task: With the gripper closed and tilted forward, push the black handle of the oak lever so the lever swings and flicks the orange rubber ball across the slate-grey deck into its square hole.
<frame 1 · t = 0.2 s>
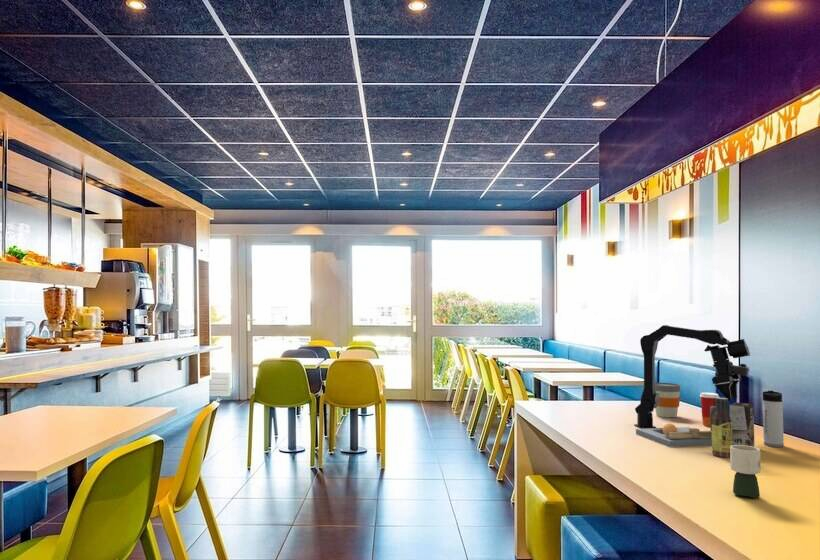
hand: (732, 399, 218), 15 cm above the table, tool pointing down, fingers open, 9 cm apart
reusable coffee cup: (666, 416, 264), on the table
ball: (669, 430, 212), point 4 cm above the table, touching deck
paper cup: (710, 426, 242), on the table
sauce bottle: (722, 456, 193), on the table
deck: (679, 438, 217), on the table
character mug: (746, 496, 151), on the table
coffee box: (742, 448, 203), on the table
lever: (693, 422, 210), point 8 cm above the table, hinge at 0.0°
travel mug: (773, 445, 208), on the table
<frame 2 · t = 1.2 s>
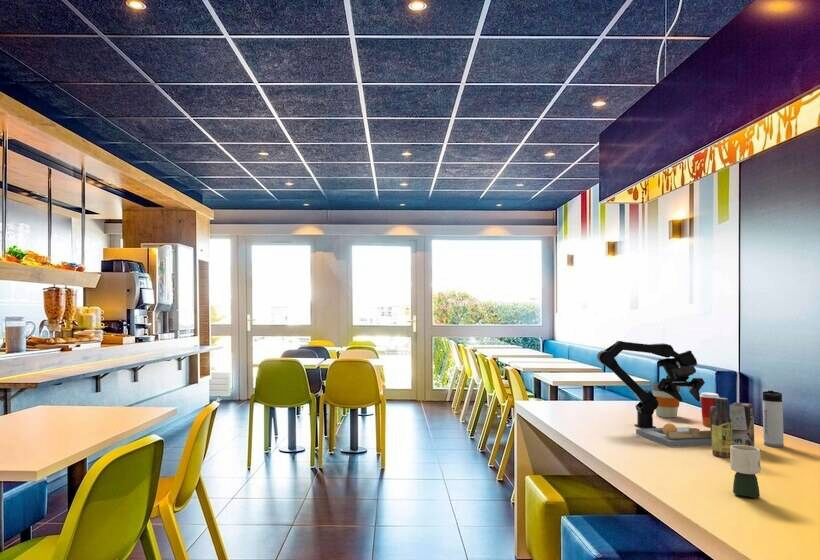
hand: (690, 401, 225), 13 cm above the table, tool tilted 45°, fingers open, 8 cm apart
nothing on the table moved.
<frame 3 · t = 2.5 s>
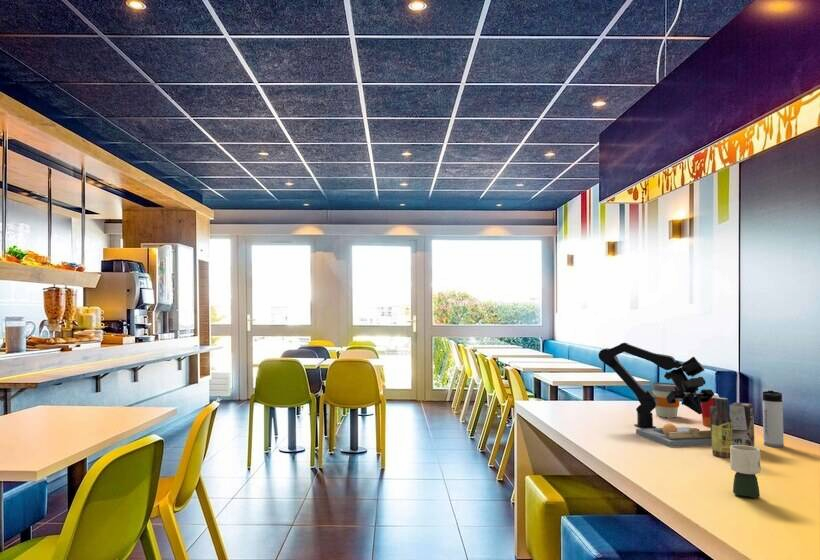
hand: (700, 413, 220), 9 cm above the table, tool tilted 45°, fingers closed
nothing on the table moved.
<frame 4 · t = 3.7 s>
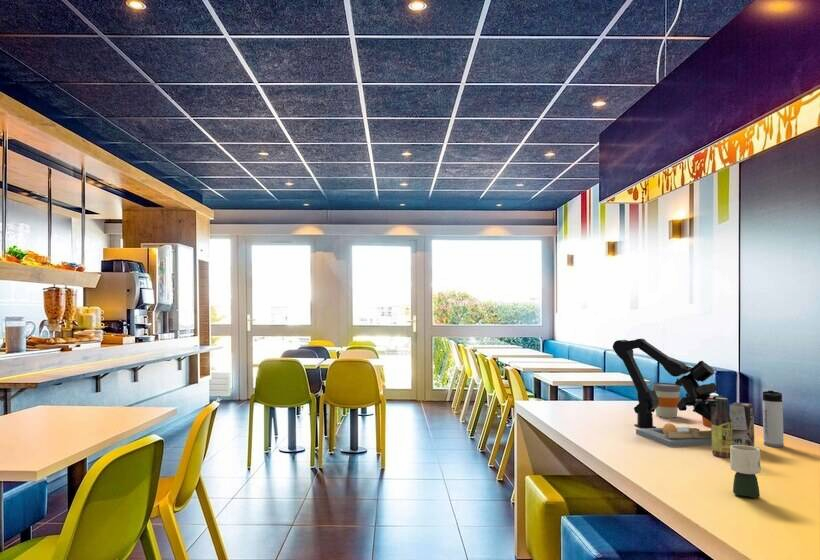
hand: (713, 421, 213), 8 cm above the table, tool tilted 45°, fingers closed, pressing on lever
ball: (669, 430, 212), point 5 cm above the table, touching lever
lever: (693, 422, 210), point 8 cm above the table, hinge at -2.6°, touching ball, gripper
everything else where it was.
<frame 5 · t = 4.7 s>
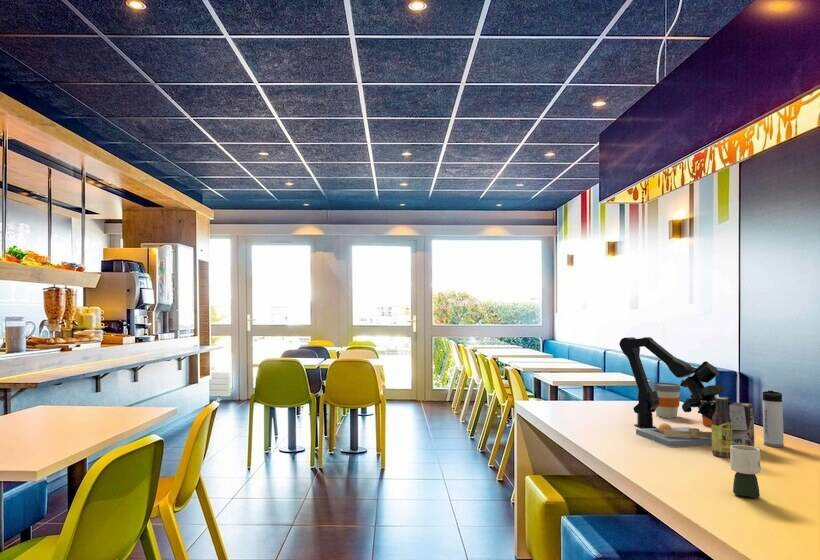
hand: (718, 423, 210), 8 cm above the table, tool tilted 45°, fingers closed
ball: (665, 429, 222), point 2 cm above the table, tilted 116°
lever: (693, 422, 210), point 8 cm above the table, hinge at -22.1°, touching gripper
everything else where it was.
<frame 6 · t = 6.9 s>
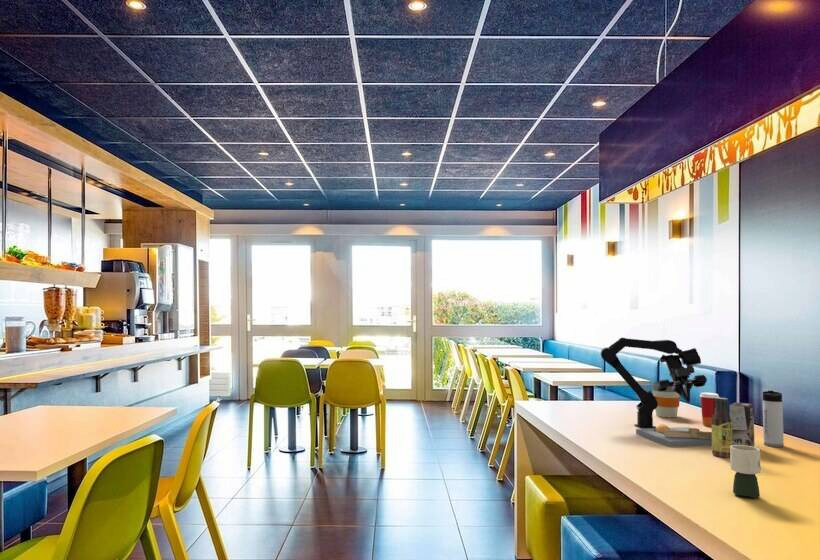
hand: (688, 402, 226), 13 cm above the table, tool tilted 35°, fingers closed
ball: (663, 430, 220), point 2 cm above the table, tilted 152°
lever: (693, 422, 210), point 8 cm above the table, hinge at -22.2°
everything else where it was.
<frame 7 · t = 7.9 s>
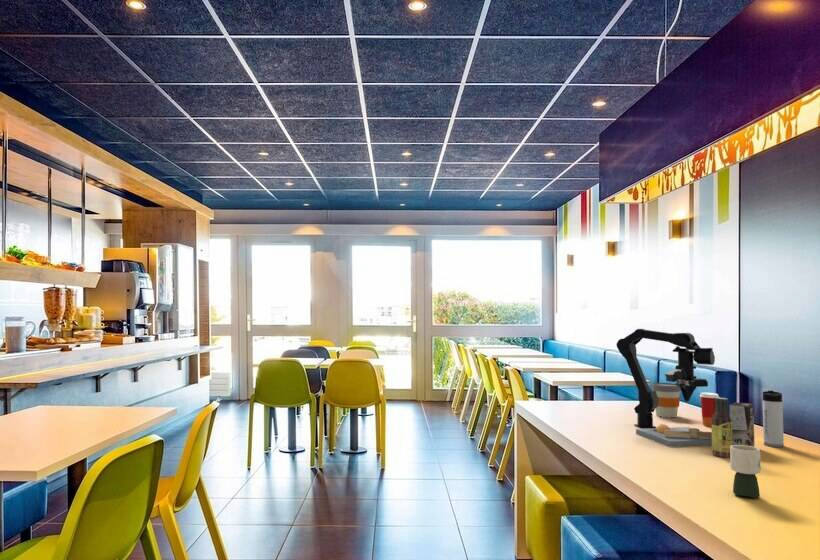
hand: (686, 401, 228), 13 cm above the table, tool pointing down, fingers closed
nothing on the table moved.
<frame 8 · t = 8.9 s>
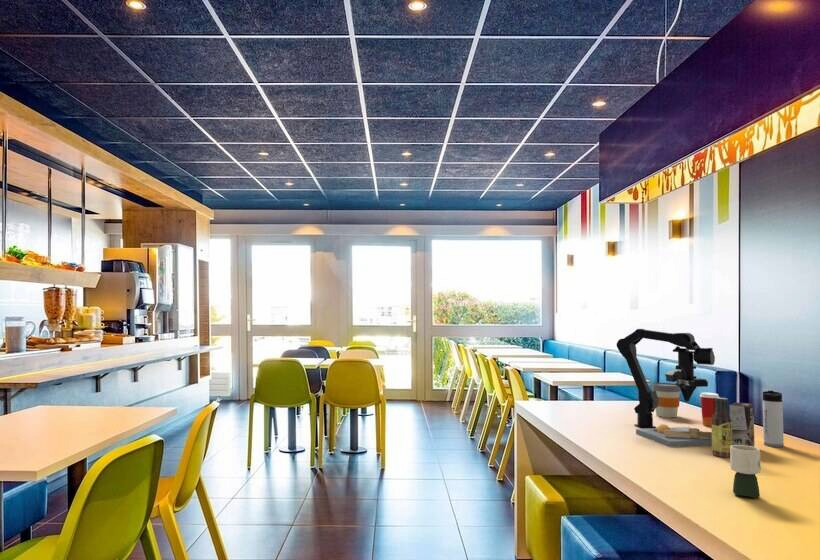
hand: (686, 401, 228), 13 cm above the table, tool pointing down, fingers closed
nothing on the table moved.
at the end: ball 1.0 cm from the target spot on the deck, point 2.5 cm above the deck's base; lever at -22° (first picture: +0°) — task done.
